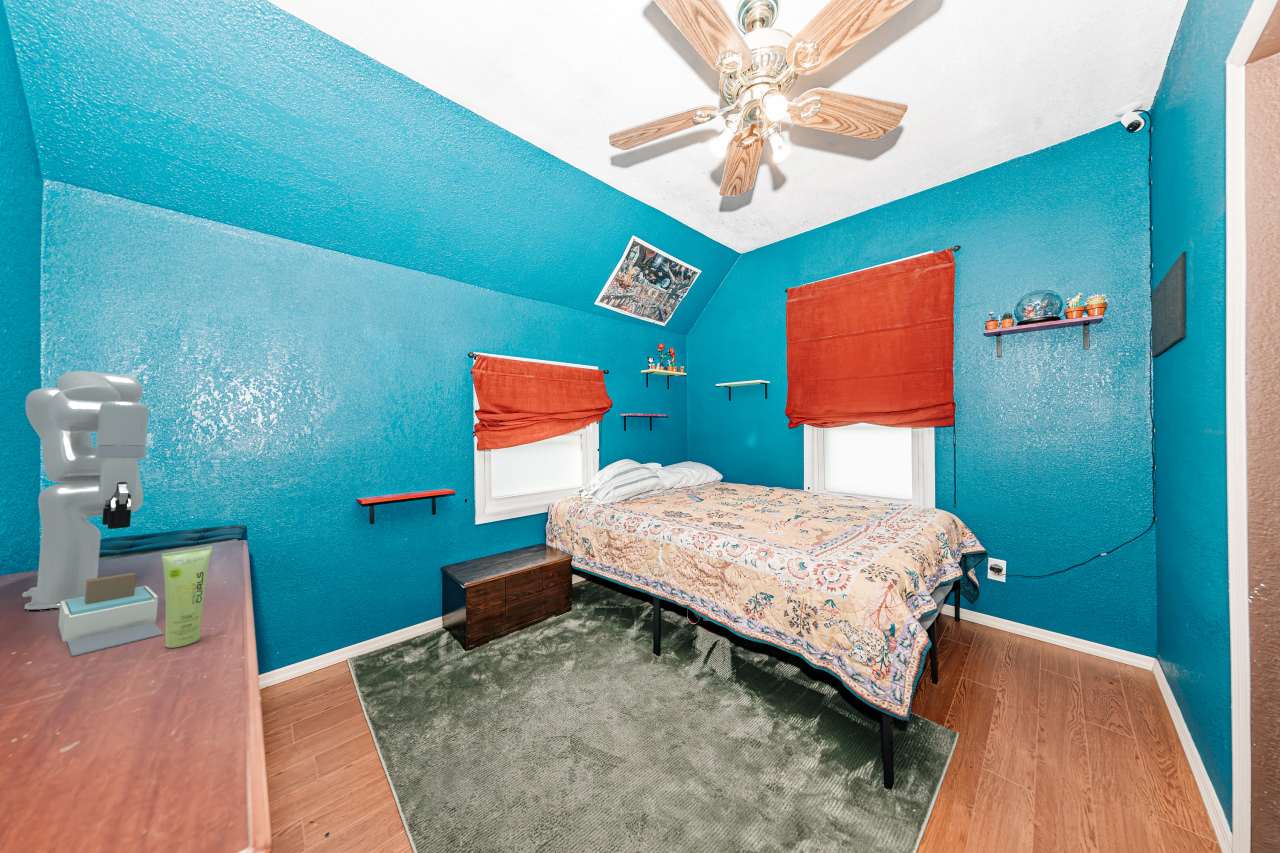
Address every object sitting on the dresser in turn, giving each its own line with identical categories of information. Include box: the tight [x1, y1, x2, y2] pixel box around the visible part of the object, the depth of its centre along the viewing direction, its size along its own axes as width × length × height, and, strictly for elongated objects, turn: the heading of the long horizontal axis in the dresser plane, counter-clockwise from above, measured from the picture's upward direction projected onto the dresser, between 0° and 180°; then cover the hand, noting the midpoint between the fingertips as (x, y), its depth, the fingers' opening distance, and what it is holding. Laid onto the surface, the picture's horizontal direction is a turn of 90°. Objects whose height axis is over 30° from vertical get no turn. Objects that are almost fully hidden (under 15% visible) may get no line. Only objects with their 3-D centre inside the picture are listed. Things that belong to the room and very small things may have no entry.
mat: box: [66, 622, 165, 658], centre depth 90 cm, size 11×12×1 cm
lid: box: [66, 571, 152, 616], centre depth 98 cm, size 12×11×6 cm
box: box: [57, 585, 159, 643], centre depth 98 cm, size 14×13×6 cm
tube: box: [160, 546, 214, 649], centre depth 89 cm, size 6×5×20 cm
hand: (115, 525), depth 99 cm, fingers open, 9 cm apart
